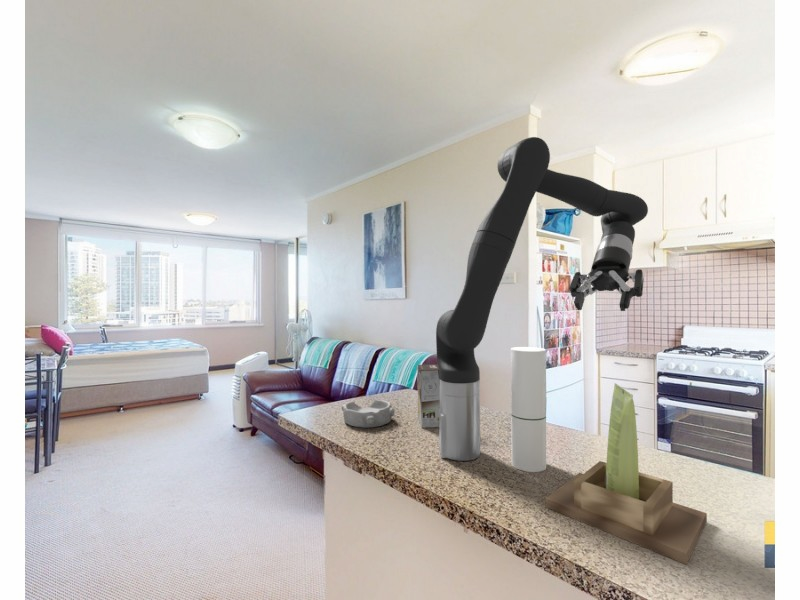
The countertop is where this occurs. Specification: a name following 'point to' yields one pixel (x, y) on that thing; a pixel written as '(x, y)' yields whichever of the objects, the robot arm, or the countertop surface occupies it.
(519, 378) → the cylindrical container
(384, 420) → the dish
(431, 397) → the coffee box
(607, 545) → the countertop surface
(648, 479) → the wooden box on board
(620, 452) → the tube
